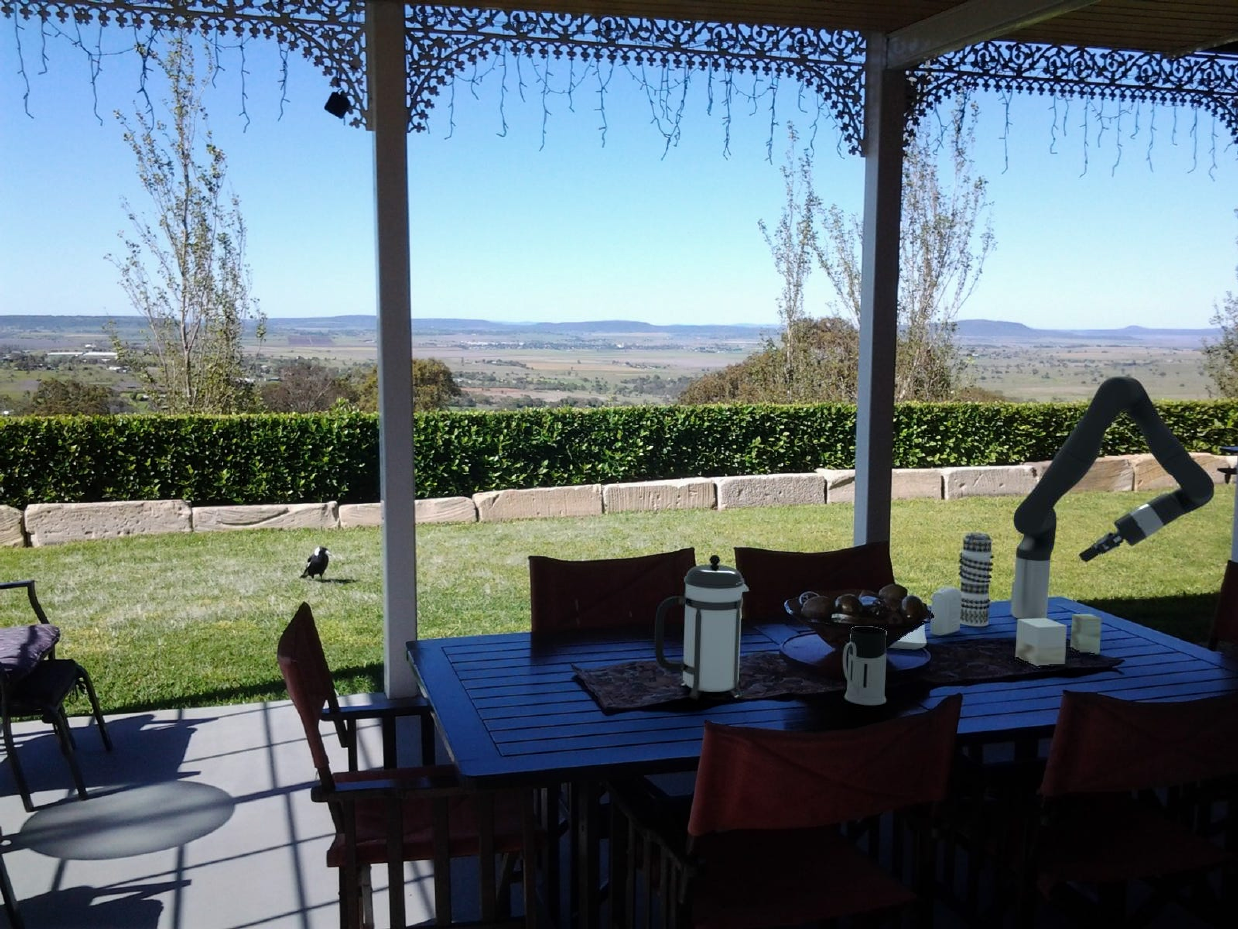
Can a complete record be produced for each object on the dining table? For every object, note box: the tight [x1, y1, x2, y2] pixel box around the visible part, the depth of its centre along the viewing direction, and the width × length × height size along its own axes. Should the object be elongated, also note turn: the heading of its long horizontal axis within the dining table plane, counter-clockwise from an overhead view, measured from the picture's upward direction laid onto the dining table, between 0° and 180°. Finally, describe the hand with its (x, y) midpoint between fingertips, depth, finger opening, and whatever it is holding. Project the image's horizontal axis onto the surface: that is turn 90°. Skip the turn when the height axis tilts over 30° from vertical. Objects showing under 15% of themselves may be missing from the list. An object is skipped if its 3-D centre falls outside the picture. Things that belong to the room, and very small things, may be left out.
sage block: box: [1069, 613, 1103, 655], centre depth 278 cm, size 5×5×9 cm
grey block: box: [1015, 618, 1068, 648], centre depth 267 cm, size 8×8×5 cm
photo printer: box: [929, 585, 962, 636], centre depth 294 cm, size 10×4×12 cm, turn 134°
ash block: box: [1015, 639, 1067, 666], centre depth 267 cm, size 8×8×5 cm
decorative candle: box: [958, 532, 995, 627], centre depth 305 cm, size 9×9×25 cm
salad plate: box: [890, 623, 927, 650], centre depth 284 cm, size 21×21×3 cm
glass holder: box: [842, 626, 887, 706], centre depth 233 cm, size 9×14×15 cm, turn 138°
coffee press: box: [654, 554, 750, 700], centre depth 236 cm, size 17×16×30 cm
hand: (1081, 558), depth 284 cm, fingers open, 8 cm apart
